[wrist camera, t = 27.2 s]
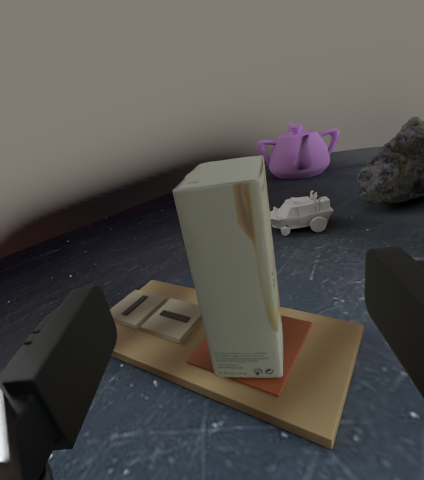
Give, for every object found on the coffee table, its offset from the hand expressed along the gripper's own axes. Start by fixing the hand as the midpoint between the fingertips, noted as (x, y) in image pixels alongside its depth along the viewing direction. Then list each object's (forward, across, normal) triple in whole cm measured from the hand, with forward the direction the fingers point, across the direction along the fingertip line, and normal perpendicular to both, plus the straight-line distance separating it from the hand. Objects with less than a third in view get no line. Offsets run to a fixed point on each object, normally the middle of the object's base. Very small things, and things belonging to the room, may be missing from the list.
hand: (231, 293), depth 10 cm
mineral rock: (+34, -22, +12) cm, 43 cm away
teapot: (+55, -13, +12) cm, 57 cm away
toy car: (+29, -8, +12) cm, 32 cm away
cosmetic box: (+9, 0, +11) cm, 14 cm away
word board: (+11, +3, +11) cm, 16 cm away
